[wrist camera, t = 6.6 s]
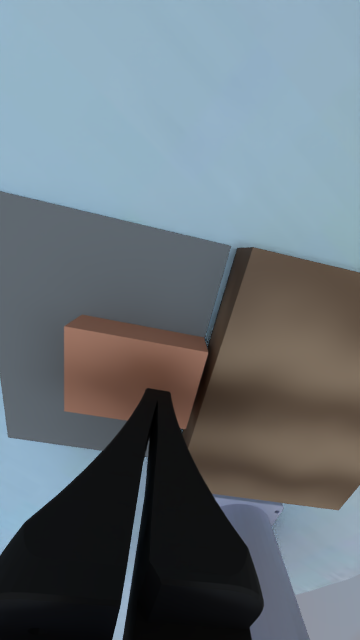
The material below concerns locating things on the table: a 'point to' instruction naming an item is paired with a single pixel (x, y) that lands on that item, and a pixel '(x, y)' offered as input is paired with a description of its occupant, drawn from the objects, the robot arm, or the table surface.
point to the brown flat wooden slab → (281, 384)
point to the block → (128, 367)
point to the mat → (86, 303)
